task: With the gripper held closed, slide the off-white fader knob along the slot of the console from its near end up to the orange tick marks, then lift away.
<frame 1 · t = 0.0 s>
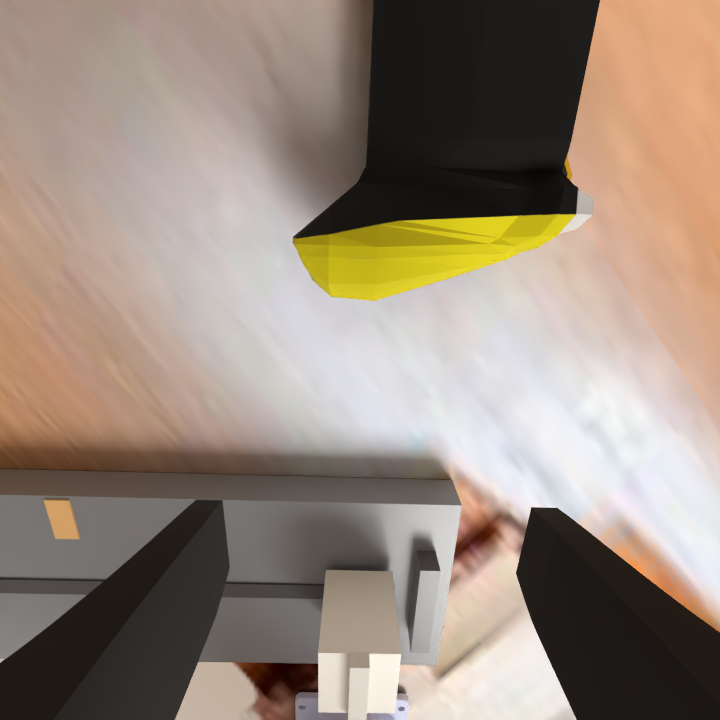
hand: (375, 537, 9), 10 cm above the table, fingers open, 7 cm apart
console: (207, 557, 22), on the table
black yellow angular piece: (433, 98, 15), on the table
fader knob: (358, 643, 18), point 5 cm above the table, slide at -9.0 cm
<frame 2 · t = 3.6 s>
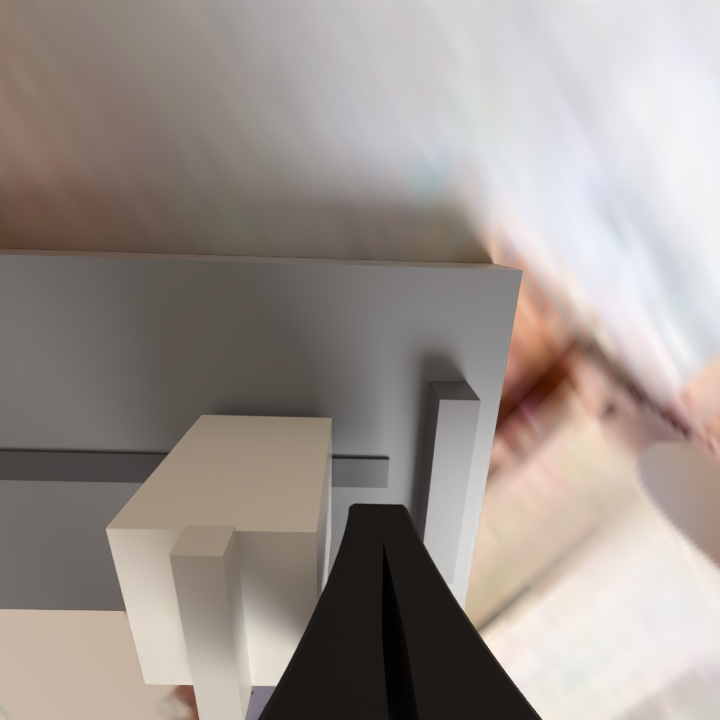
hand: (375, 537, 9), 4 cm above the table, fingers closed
console: (66, 429, 13), on the table
fader knob: (248, 542, 8), point 5 cm above the table, slide at -7.6 cm, touching gripper
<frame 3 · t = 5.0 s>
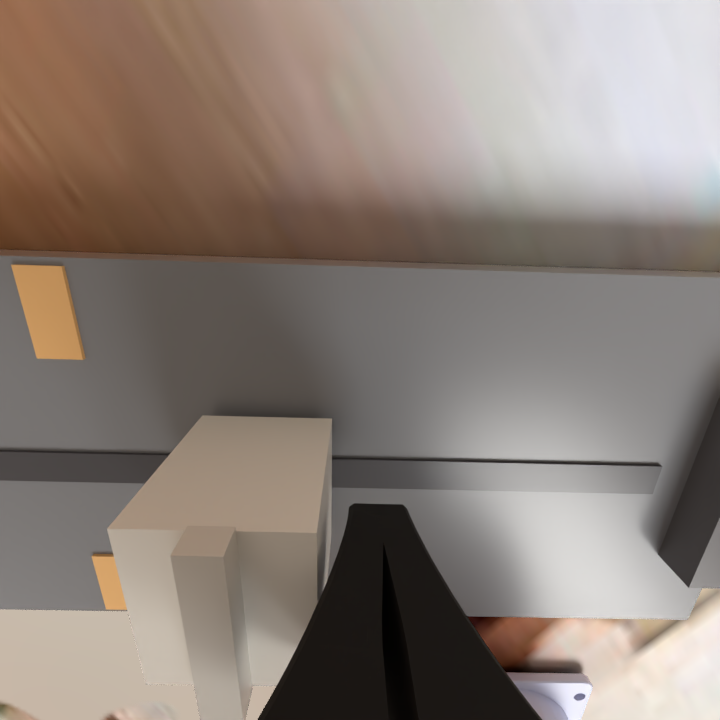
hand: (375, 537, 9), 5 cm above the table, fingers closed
console: (302, 435, 13), on the table
fader knob: (248, 542, 8), point 5 cm above the table, slide at 0.6 cm, touching gripper
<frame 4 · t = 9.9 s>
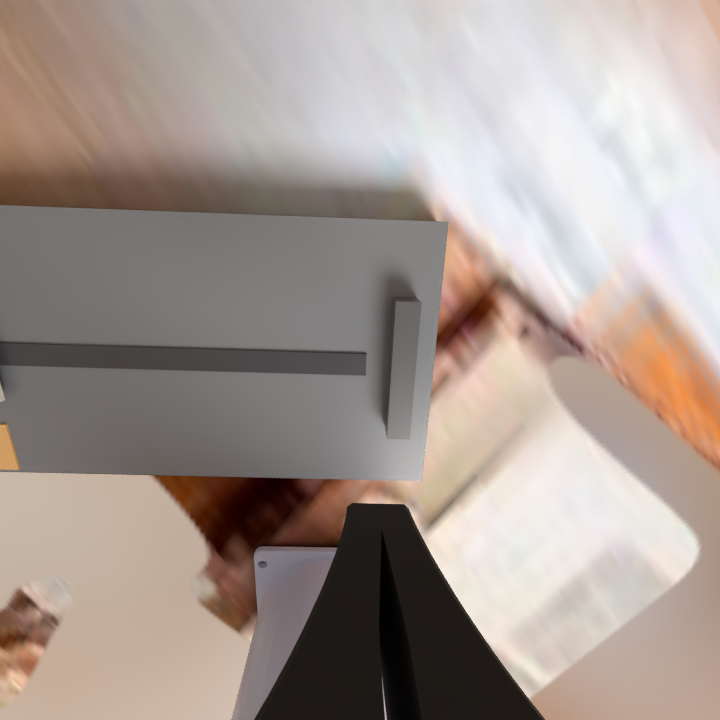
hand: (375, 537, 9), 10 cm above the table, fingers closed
console: (139, 344, 18), on the table
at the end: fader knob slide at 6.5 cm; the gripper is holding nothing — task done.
